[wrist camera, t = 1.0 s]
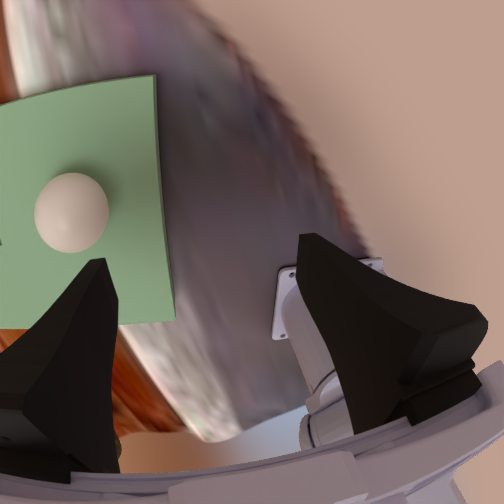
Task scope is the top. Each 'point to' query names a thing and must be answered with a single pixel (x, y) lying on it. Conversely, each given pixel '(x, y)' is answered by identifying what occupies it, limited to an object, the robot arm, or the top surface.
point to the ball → (71, 212)
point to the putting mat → (111, 181)
